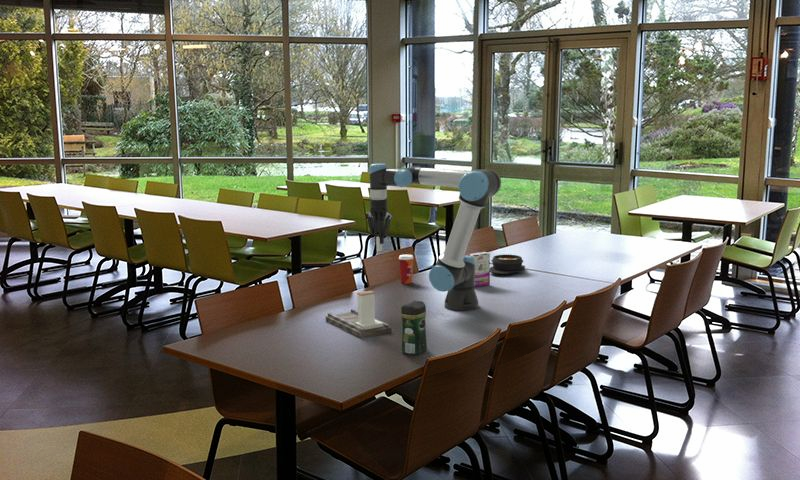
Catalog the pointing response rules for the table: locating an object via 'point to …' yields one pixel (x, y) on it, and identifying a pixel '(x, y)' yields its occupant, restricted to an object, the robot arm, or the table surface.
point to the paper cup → (406, 268)
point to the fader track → (348, 324)
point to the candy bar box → (481, 268)
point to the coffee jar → (413, 328)
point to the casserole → (507, 264)
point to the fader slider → (367, 311)
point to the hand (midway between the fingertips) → (379, 250)
